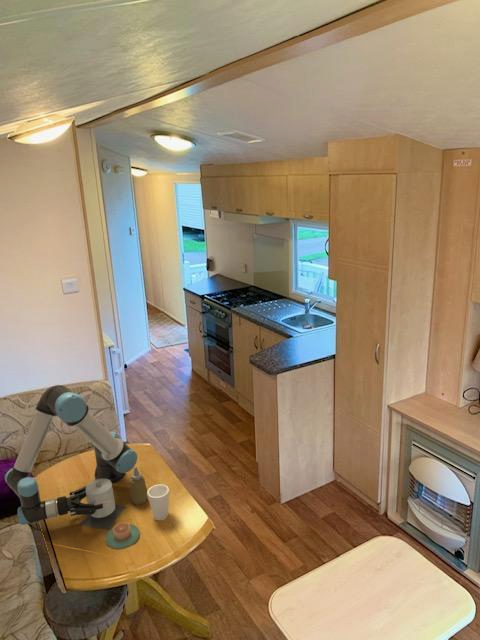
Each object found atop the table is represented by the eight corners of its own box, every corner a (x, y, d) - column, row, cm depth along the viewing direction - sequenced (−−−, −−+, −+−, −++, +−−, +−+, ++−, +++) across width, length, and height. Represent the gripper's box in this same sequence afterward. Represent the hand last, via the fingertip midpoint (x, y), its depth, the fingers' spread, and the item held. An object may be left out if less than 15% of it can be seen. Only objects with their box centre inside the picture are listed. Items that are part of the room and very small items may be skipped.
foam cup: (167, 524, 213) (164, 498, 210) (146, 522, 215) (144, 496, 211) (174, 509, 222) (171, 485, 218) (154, 507, 224) (152, 483, 220)
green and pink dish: (116, 523, 215) (115, 514, 214) (145, 528, 211) (144, 519, 210) (99, 546, 202) (97, 536, 201) (129, 552, 199) (128, 542, 197)
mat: (99, 502, 229) (99, 501, 229) (126, 506, 226) (126, 506, 225) (79, 525, 215) (79, 524, 215) (108, 530, 211) (108, 530, 211)
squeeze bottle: (136, 509, 224) (132, 475, 218) (127, 501, 229) (123, 467, 224) (151, 501, 229) (147, 467, 223) (142, 493, 234) (138, 460, 229)
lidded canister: (98, 499, 226) (93, 473, 221) (119, 502, 222) (115, 476, 218) (84, 515, 216) (79, 488, 211) (106, 519, 212) (102, 491, 208)
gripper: (59, 497, 224) (108, 486, 230) (58, 532, 202) (113, 518, 209) (56, 483, 221) (106, 472, 228) (55, 517, 200) (110, 503, 206)
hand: (109, 494), depth 218 cm, fingers closed on lidded canister, 11 cm apart
